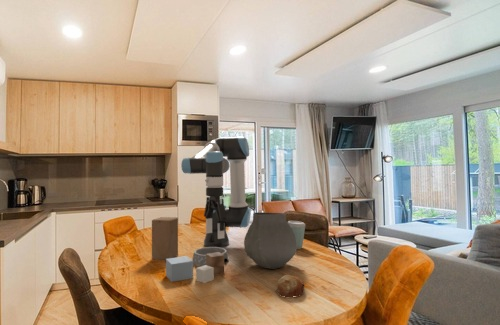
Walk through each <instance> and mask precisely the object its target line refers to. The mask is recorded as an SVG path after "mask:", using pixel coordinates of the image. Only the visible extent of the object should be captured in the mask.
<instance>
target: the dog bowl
mask: <svg viewBox="0 0 500 325" xmlns="http://www.w3.org/2000/svg"><path fill="white" fill-rule="evenodd" d="M216 252H220V253H221V254H223V255H224V260H225V259H226V260H227V262H229V261H230V260H229V255H228V251H227V249H225V248H224V247H208V246H205V247H201V248H197V249H195V250H194V251H193V256H192V259H191V260H192V261H193V266H196V267H201V266H204V265H206V254H209V253H216Z"/></svg>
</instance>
